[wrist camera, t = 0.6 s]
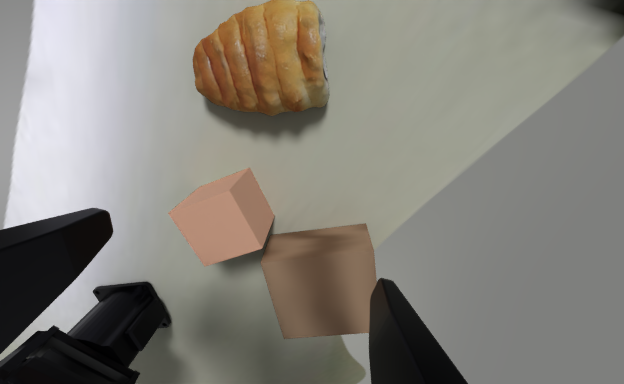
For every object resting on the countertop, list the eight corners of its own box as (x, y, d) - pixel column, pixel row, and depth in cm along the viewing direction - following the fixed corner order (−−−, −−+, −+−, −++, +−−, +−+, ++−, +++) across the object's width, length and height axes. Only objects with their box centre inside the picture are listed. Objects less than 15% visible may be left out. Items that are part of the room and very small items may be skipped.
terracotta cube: (227, 231, 24) (204, 266, 19) (200, 186, 22) (167, 213, 18) (274, 215, 23) (262, 248, 19) (249, 167, 21) (229, 190, 17)
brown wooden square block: (289, 304, 27) (284, 338, 24) (270, 235, 24) (260, 262, 20) (373, 297, 26) (380, 331, 23) (365, 223, 23) (373, 250, 19)
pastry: (217, 123, 20) (195, 131, 17) (188, 25, 18) (153, 11, 14) (334, 103, 19) (336, 108, 16) (321, -4, 17) (319, -27, 13)
